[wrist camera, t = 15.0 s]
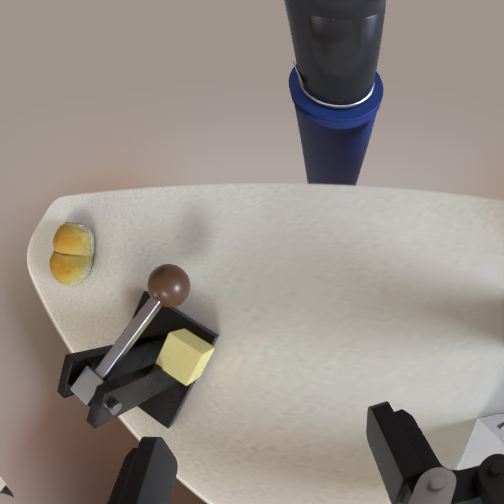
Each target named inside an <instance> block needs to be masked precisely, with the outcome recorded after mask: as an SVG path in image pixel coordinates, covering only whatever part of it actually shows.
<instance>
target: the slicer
mask: <svg viewBox="0 0 504 504" xmlns="http://www.w3.org/2000/svg"><path fill="white" fill-rule="evenodd" d="M149 298H150V295H149V292H148V291H144V293H143V295H142V297H141V300H140V302H139V304H138V307H137V309H136V312H135V314H134V316H133V319H134V317H135V316H136V315H137V313H138V312H139V311H140V310H141V308H142V307H143V306H144V304H145V303H146V302H147V301H148V299H149ZM133 319H132V320H133ZM184 328H185V329H186V330H188V331H190V332H191V333H193V334H194V335H196V336H197V337H199V338H201V339H202V340H204V341H205V342H207V343H209V344H210V345H212V346H214V344H215V342H216V340H217V339H218V337H219V335H217V334H216V333H214V332H212V331H211V330H209V329H208V328H206V327H204V326H203V325H201V324H199V323H198V322H196V321H195V320H193V319H191V318H190V317H188V316H187V315H185V314H183V313H182V312H180V311H179V310H177V309H176V308H174V307H163V306H162V307H161V308H160V310H159V311H158V312H157V314H156V315H155V316H154V318H153V319H152V320H151V322H150V323H149V324H148V326H147V327H146V328H145V330H144V331H143V332H142V334H141V335H140V336H139V338H138V339H137V340H136V342H135V343H134V344H133V346H132V347H131V348H130V350H129V351H128V352H127V354H126V355H125V357H124V358H123V359H122V361H121V362H120V363H119V365H118V366H117V368H116V369H115V370H114V372H113V373H112V374H111V376H110V377H109V379H108V382H105V383H103V384H100V385H97V387H96V390H95V393H94V397H93V400H92V403H91V407H90V410H89V414H88V418H87V422H88V423H89V424H90V425H91V426H92V427H93V428H96V427H98V426H100V425H102V424H104V423H106V422H108V421H110V420H111V419H113V418H115V417H117V416H119V415H121V414H123V413H124V412H126V411H128V410H130V409H132V408H134V407H135V406H138V407H139V408H141V409H142V410H143V411H145V412H146V413H147V414H149V415H150V416H151V417H153V418H154V419H155V420H157V421H158V422H160V423H161V424H162V425H164V426H165V427H167V428H170V427H171V426H172V425H173V423H174V421H175V420H176V418H177V416H178V414H179V412H180V410H181V408H182V406H183V404H184V402H185V400H186V399H187V397H188V395H189V393H190V391H191V389H192V387H193V385H194V383H195V381H196V380H195V381H193V382H192V383H190V384H189V385H187V386H186V385H184V384H183V383H181V382H180V381H178V380H177V379H175V378H174V377H172V376H171V375H169V374H168V373H167V372H165V371H164V370H162V369H163V368H162V367H161V366H159V365H158V364H156V361H157V358H158V356H159V354H160V352H161V349H162V347H163V345H164V343H165V341H166V338H167V336H168V334H169V332H173V331H177V330H180V329H184ZM112 346H113V345H110V346H105V347H101V348H96V349H91V350H87V351H82V352H77V353H72V354H67V355H66V356H65V360H64V364H63V368H62V373H61V377H60V381H59V386H58V392H59V393H60V394H61V396H62V397H63V398H66V397H69V396H72V395H74V394H75V393H74V392H73V391H72V390H71V387H72V386H73V384H74V383H75V381H76V380H77V379H78V377H79V376H80V374H81V373H82V371H83V370H84V369H85V367H86V366H88V367H90V368H92V369H94V370H96V368H97V367H98V366H99V364H100V363H101V361H102V360H103V359H104V357H105V356H106V355H107V353H108V352H109V351H110V349H111V348H112Z"/></svg>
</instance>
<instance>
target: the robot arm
mask: <svg viewBox="0 0 504 504" xmlns="http://www.w3.org/2000/svg"><path fill="white" fill-rule="evenodd" d="M284 1H285V6H286V11H287V15H288V20H289V25H290V30H291V35H292V41H293V45H294V51H295V57H296V63H297V68H296V66H295V63H294V67H295V69H296V72H297V74H298V80H299V86H300V89H301V91H302V92H303V94H304V95H305V96H306V97H307V98H308V99H309V100H310V101H311V102H313V103H314V104H316V105H318V106H320V107H323V108H326V109H330V110H337V111H345V110H352V109H355V108H358V107H360V106H362V105H364V104H365V103H366V102H367V101H368V100H369V99H370V97H371V96H372V93H373V89H374V80H375V74H376V69H377V63H378V56H379V50H380V44H381V37H382V30H383V22H384V14H385V6H386V0H284ZM297 69H298V70H297ZM366 432H367V439H368V443H369V445H370V448H371V451H372V453H373V456H374V458H375V461H376V463H377V466H378V469H379V471H380V474H381V476H382V479H383V482H384V484H385V487H386V490H387V492H388V495H389V498H390V501H391V503H392V504H400V503H401V504H504V454H493V455H490V456H488V457H487V458H485V459H484V460H483V461H482V463H481V464H480V465H478V466H475V467H471V468H467V469H462V470H450V469H447V468H445V467H443V466H442V465H441V464H440V463H439V461H438V459H437V458H436V456H435V454H434V452H433V450H432V449H431V447H430V445H429V443H428V442H427V440H426V438H425V437H424V435H423V433H422V431H421V430H420V428H418V425H417V423H416V421H415V420H414V418H413V416H412V415H410V414H409V413H407V412H406V411H404V410H403V409H402V410H399V411H396V412H394V411H393V409H392V408H391V406H390V404H389V403H388V402H387V401H386V402H383V403H380V404H377V405H373V406H370V407H368V412H367V429H366ZM176 474H177V461H176V458H175V456H174V455H173V453H172V452H171V450H170V449H169V447H168V446H167V444H166V443H165V441H164V440H163V438H161V437H142V439H141V440H140V443H139V446H138V448H133V449H132V450H131V451H130V452H129V453H128V454H127V455H126V457H125V459H124V462H123V464H122V468H121V470H120V472H119V475H118V477H117V480H116V483H115V485H114V488H113V490H112V493H111V496H110V498H109V501H108V503H107V504H170V501H171V497H172V492H173V487H174V483H175V478H176Z"/></svg>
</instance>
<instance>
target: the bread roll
mask: <svg viewBox="0 0 504 504" xmlns="http://www.w3.org/2000/svg"><path fill="white" fill-rule="evenodd" d="M53 244H54V250H55V251H54V252H53V254H52V256H51V258H50V269H51V272H52V274H53V276H54V277H55V279H56V280H57V281H58V282H59V283H61V284H63V285H65V286H74V285H77V284H79V283H81V282H82V281H83V280H85V278H86V277H87V276H88V275H89V272H90V270H91V267H92V263H93V259H92V256H93V254H94V248H95V247H94V237H93V234H92V232H91V230H90V229H89V228H88V227H87V226H84V225H79V224H74V223H70V222H66V223H65V224H63V225H62V226H60V228H59V229H58V230H57V232H56V234H55V236H54V241H53Z"/></svg>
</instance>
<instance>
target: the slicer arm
mask: <svg viewBox="0 0 504 504" xmlns="http://www.w3.org/2000/svg"><path fill="white" fill-rule="evenodd" d="M147 288H148V292H149V295H150V298H149V299H148V301H147V302H146V303H145V304H144V306H143V307H142V308H141V310H140V311H139V312H138V313H137V315H136V316H135V317H134V319H133V320H132V321H131V323H130V324H129V325H128V326H127V328H126V329H125V330H124V332H123V333H122V334H121V336H120V337H119V338H118V340H117V341H116V342H115V344H114V345H113V346H112V348H111V349H110V351H109V352H108V353H107V355H106V356H105V357H104V359H103V360H102V361H101V363H100V364H99V366H98V367H97V368H96V370H94V369H92V368H90V367H88V366H86V367H85V369H84V370H83V371H82V373H81V374H80V376H79V377H78V379H77V380H76V381H75V383H74V384H73V386H72V387H71V390H72V391H73V392H74V393H75V394H76V395H77V396H78V397H79V398H80V399H81V400H82V401H83V402H84V403H85V404H86V405H87V406H91V403H92V400H93V397H94V393H95V390H96V387H97V385H100V384H103V383H105V382H108V379H109V377H110V376H111V374H112V373H113V372H114V370H115V369H116V368H117V366H118V365H119V363H120V362H121V361H122V359H123V358H124V357H125V355H126V354H127V352H128V351H129V350H130V348H131V347H132V346H133V344H134V343H135V342H136V340H137V339H138V338H139V336H140V335H141V334H142V332H143V331H144V330H145V328H146V327H147V326H148V324H149V323H150V322H151V320H152V319H153V318H154V316H155V315H156V314H157V312H158V311H159V310H160V308H161V307H162V306H163V307H175V306H178V305H180V304H181V303H183V302H184V301H185V299H186V298H187V296H188V294H189V291H190V282H189V278H188V276H187V274H186V273H185V272H184V270H182V269H181V268H180V267H178V266H176V265H172V264H165V265H161V266H159V267H157V268H156V269H154V270H153V271H152V273H151V274H150V276H149V279H148V284H147Z"/></svg>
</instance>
